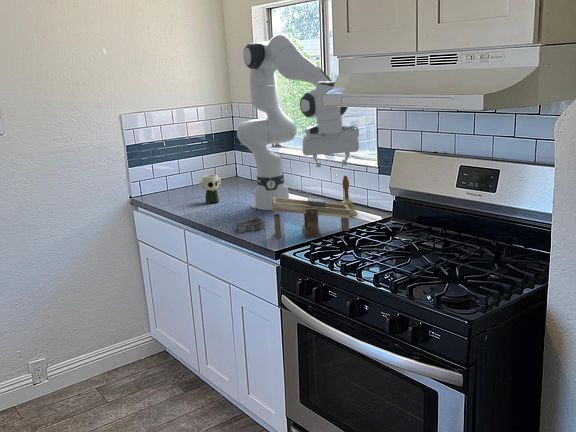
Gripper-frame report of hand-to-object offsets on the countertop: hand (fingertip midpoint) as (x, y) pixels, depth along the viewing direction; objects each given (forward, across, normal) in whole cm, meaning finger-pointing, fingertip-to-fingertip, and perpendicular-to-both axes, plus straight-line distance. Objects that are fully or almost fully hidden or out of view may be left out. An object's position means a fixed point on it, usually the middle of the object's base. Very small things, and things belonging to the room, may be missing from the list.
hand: (331, 166), depth 211 cm
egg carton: (+24, +32, -13) cm, 42 cm away
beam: (+15, +9, 0) cm, 17 cm away
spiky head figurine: (+23, +50, -65) cm, 85 cm away
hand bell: (+24, -8, -23) cm, 35 cm away
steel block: (+16, +7, 0) cm, 17 cm away
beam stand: (+24, +9, 0) cm, 26 cm away
